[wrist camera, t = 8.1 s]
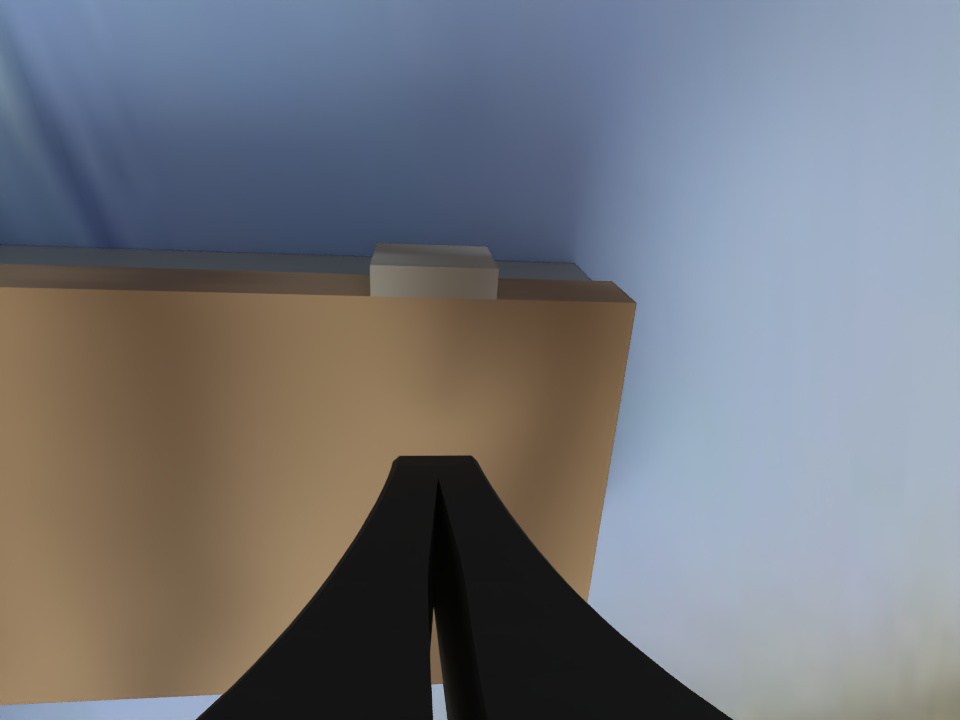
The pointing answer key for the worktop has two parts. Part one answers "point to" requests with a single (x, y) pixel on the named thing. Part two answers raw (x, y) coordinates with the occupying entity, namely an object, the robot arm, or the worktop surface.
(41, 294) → the tan flat wooden board
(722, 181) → the worktop surface
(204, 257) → the cable duct
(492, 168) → the worktop surface
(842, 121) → the worktop surface
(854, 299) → the worktop surface
